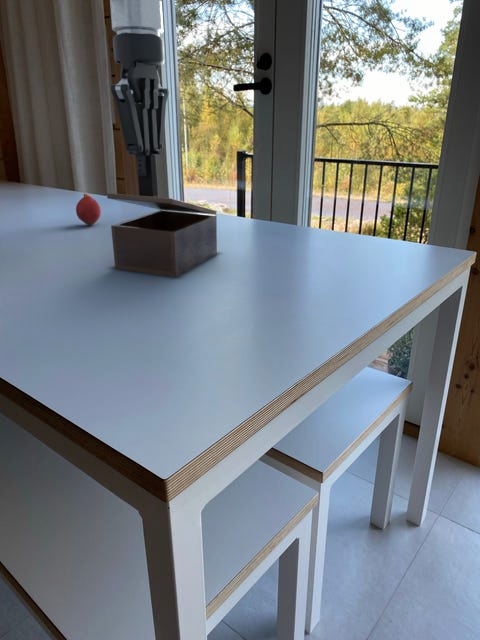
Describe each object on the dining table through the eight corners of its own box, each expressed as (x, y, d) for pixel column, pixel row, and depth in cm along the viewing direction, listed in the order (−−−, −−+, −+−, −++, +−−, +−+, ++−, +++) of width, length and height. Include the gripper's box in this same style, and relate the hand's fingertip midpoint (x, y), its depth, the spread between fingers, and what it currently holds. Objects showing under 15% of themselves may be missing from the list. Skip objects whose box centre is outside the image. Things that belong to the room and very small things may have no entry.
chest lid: (171, 203, 76) (172, 198, 76) (106, 198, 80) (107, 193, 80) (216, 214, 92) (216, 210, 92) (160, 209, 97) (160, 205, 96)
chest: (176, 277, 81) (174, 232, 78) (115, 268, 86) (110, 225, 83) (216, 254, 95) (216, 215, 92) (162, 247, 100) (160, 210, 97)
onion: (89, 222, 122) (85, 190, 119) (107, 224, 119) (103, 192, 116) (73, 226, 117) (68, 193, 114) (91, 229, 115) (87, 195, 112)
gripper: (140, 42, 78) (150, 189, 87) (89, 29, 67) (106, 199, 76) (180, 40, 75) (186, 191, 85) (134, 26, 64) (146, 202, 74)
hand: (148, 195), depth 81 cm, fingers closed
